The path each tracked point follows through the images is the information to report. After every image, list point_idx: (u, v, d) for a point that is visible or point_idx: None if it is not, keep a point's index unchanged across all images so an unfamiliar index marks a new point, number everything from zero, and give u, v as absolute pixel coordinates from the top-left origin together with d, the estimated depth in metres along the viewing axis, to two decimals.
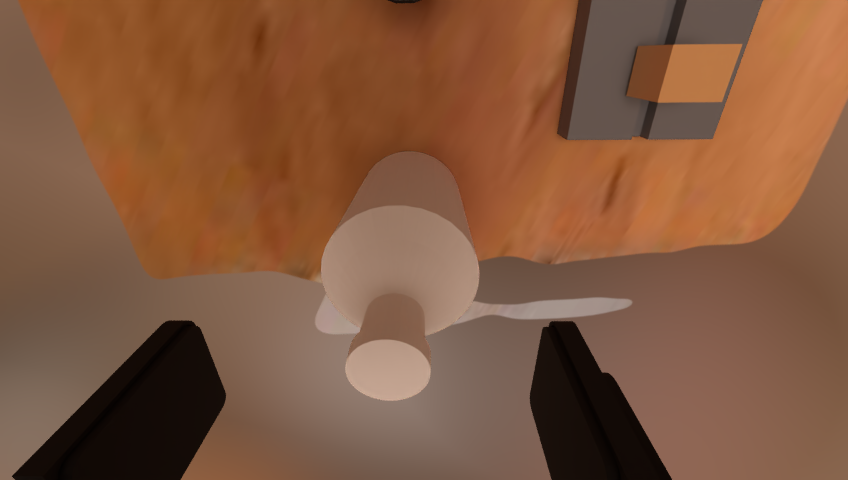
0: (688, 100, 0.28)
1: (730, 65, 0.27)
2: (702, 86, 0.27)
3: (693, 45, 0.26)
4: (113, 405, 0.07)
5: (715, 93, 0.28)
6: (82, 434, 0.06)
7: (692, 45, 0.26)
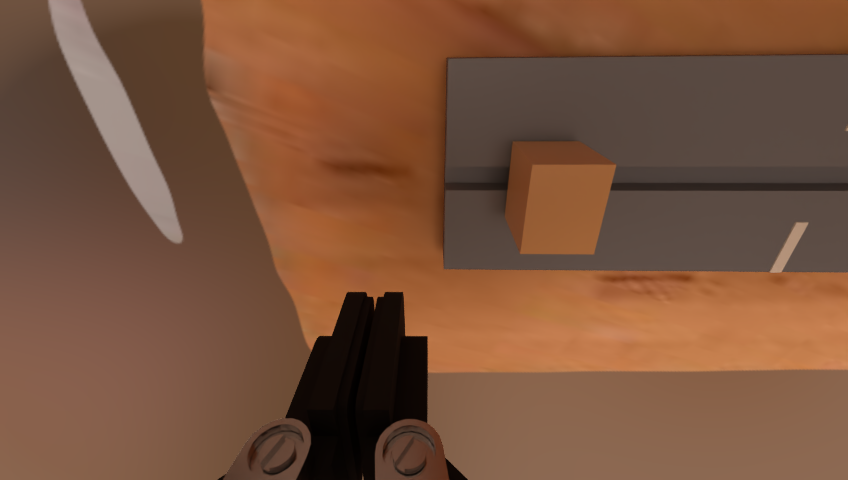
0: (529, 209, 0.18)
1: (569, 248, 0.19)
2: (547, 222, 0.19)
3: (607, 193, 0.18)
4: (348, 358, 0.08)
5: (533, 242, 0.19)
6: (341, 378, 0.07)
7: (607, 191, 0.18)
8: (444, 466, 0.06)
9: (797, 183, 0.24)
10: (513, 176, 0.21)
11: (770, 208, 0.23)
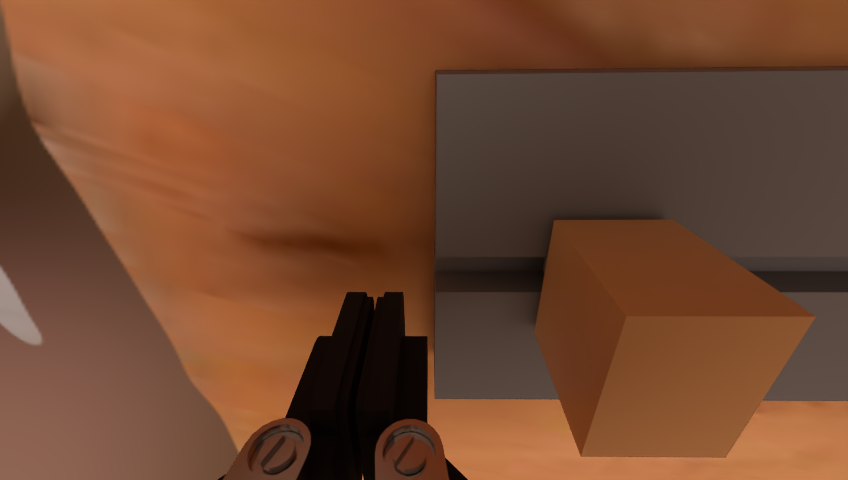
0: (607, 392, 0.09)
1: (679, 450, 0.10)
2: (641, 411, 0.09)
3: (780, 365, 0.08)
4: (348, 358, 0.08)
5: (609, 440, 0.10)
6: (341, 378, 0.07)
7: (781, 363, 0.08)
8: (444, 466, 0.06)
9: None
10: (557, 285, 0.12)
11: None
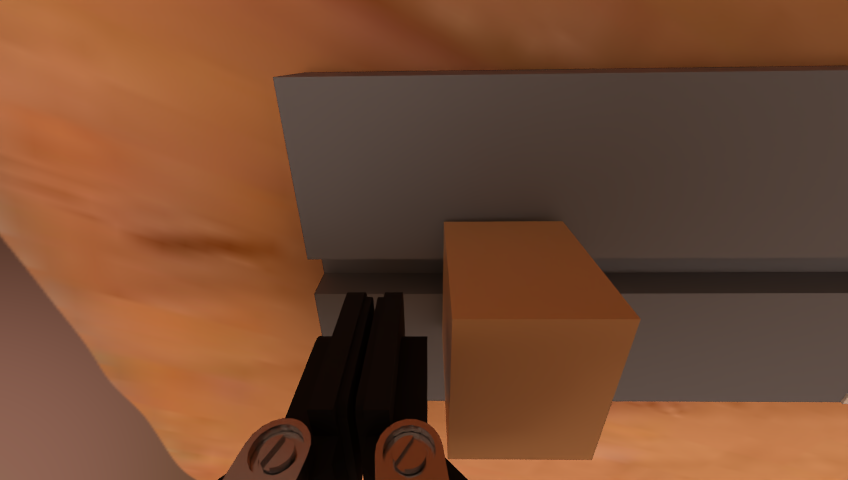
0: (455, 394, 0.09)
1: (543, 452, 0.10)
2: (495, 413, 0.09)
3: (620, 368, 0.08)
4: (348, 358, 0.08)
5: (472, 443, 0.10)
6: (341, 379, 0.07)
7: (619, 365, 0.08)
8: (444, 466, 0.06)
9: None
10: (444, 287, 0.12)
11: None
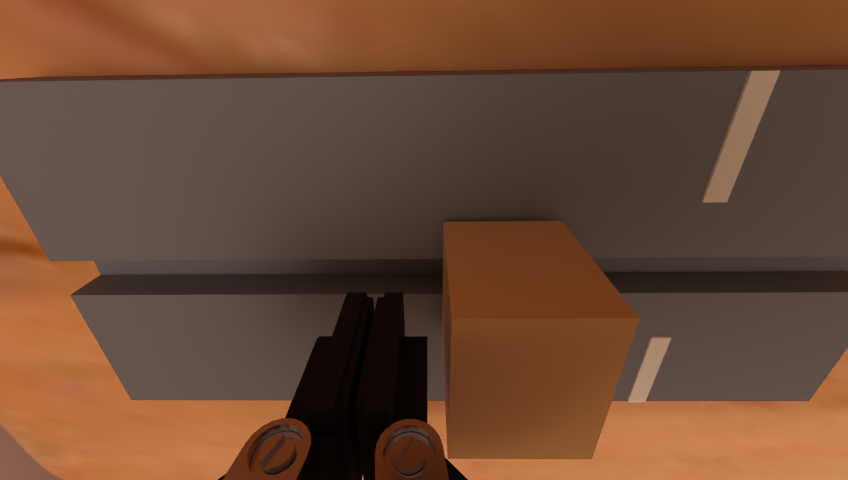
0: (455, 394, 0.09)
1: (542, 452, 0.10)
2: (495, 413, 0.09)
3: (619, 367, 0.08)
4: (348, 358, 0.08)
5: (471, 442, 0.10)
6: (340, 379, 0.07)
7: (619, 365, 0.08)
8: (444, 466, 0.06)
9: (655, 271, 0.15)
10: (444, 286, 0.12)
11: None
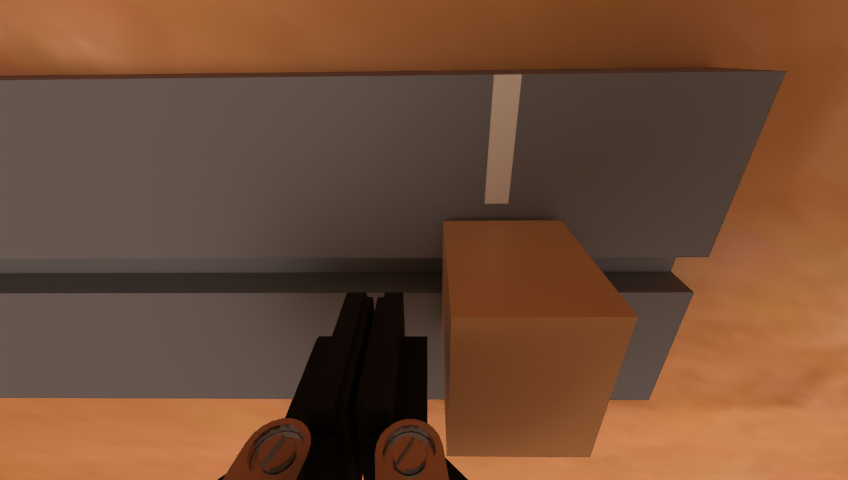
0: (454, 392, 0.09)
1: (541, 450, 0.10)
2: (493, 411, 0.09)
3: (617, 365, 0.08)
4: (348, 358, 0.08)
5: (470, 440, 0.10)
6: (341, 379, 0.07)
7: (617, 363, 0.08)
8: (444, 466, 0.06)
9: None
10: (444, 285, 0.12)
11: (425, 317, 0.15)
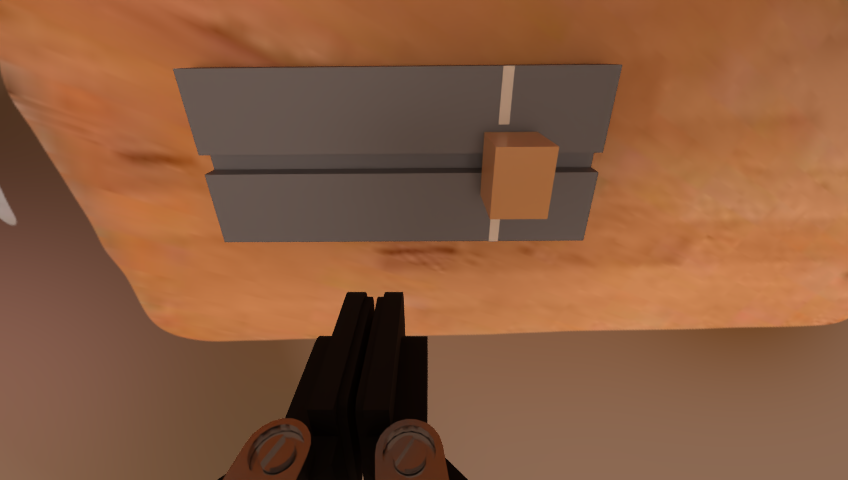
0: (494, 182, 0.24)
1: (527, 214, 0.25)
2: (509, 193, 0.24)
3: (554, 169, 0.23)
4: (348, 358, 0.08)
5: (499, 209, 0.24)
6: (341, 378, 0.07)
7: (554, 167, 0.23)
8: (444, 466, 0.06)
9: None
10: (485, 160, 0.27)
11: (467, 187, 0.29)
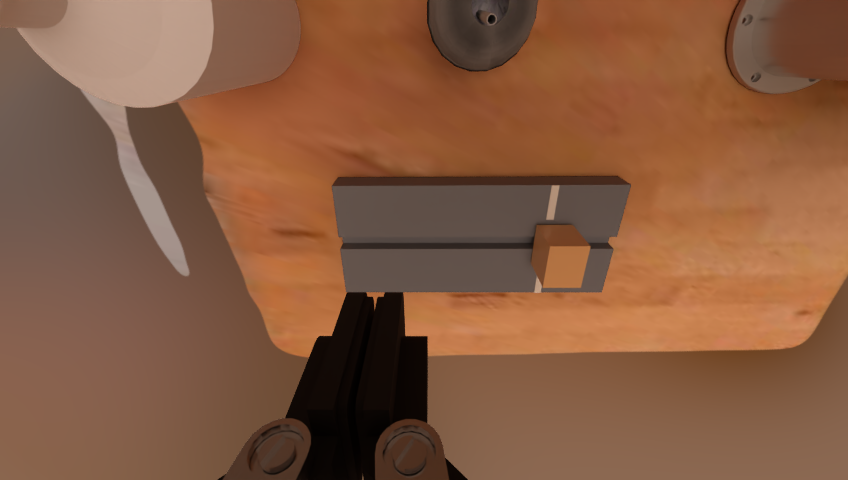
0: (547, 266, 0.36)
1: (568, 285, 0.37)
2: (556, 272, 0.37)
3: (586, 259, 0.36)
4: (348, 358, 0.08)
5: (549, 282, 0.37)
6: (341, 378, 0.07)
7: (586, 258, 0.36)
8: (444, 466, 0.06)
9: None
10: (537, 244, 0.39)
11: (522, 258, 0.42)
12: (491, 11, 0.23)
